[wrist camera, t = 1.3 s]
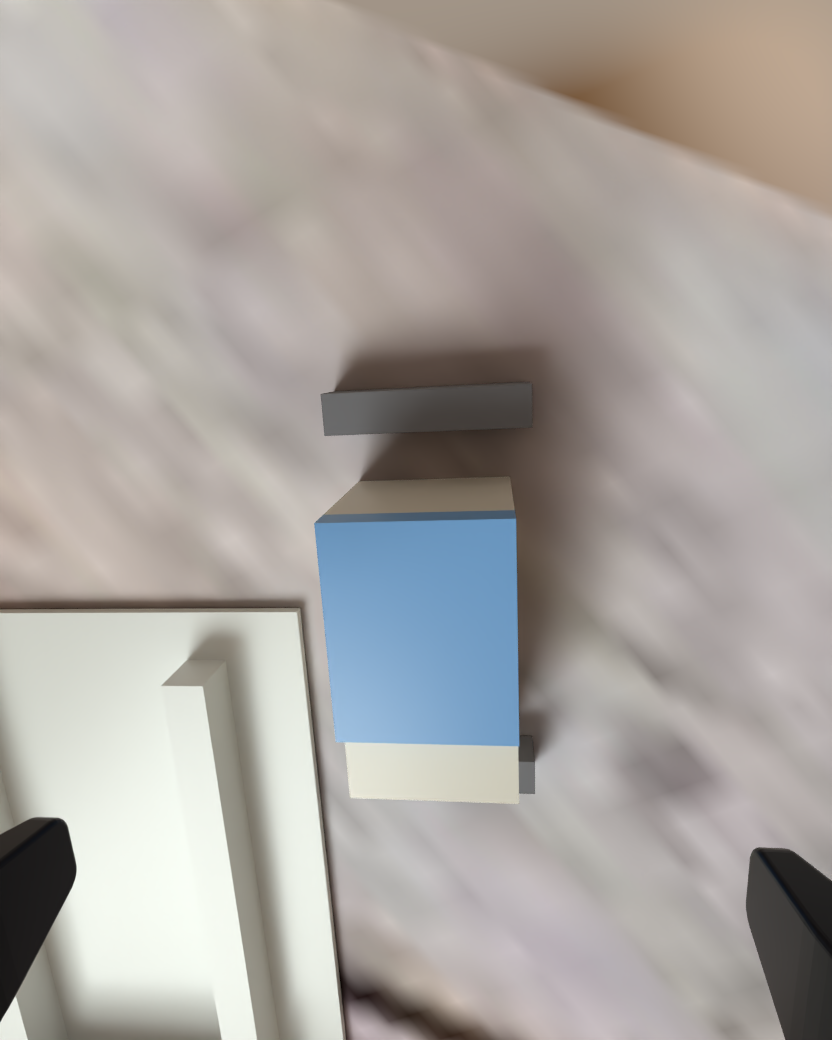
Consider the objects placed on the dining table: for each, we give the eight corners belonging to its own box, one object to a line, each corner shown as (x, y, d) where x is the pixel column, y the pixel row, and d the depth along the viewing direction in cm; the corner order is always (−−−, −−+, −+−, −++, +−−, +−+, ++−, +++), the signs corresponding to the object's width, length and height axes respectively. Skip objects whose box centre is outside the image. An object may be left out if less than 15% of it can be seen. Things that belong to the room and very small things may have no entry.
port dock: (299, 608, 18) (263, 656, 15) (352, 1097, 22) (331, 1207, 20) (-132, 610, 19) (-240, 654, 17) (0, 1063, 24) (-66, 1159, 21)
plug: (509, 475, 16) (516, 518, 12) (513, 712, 18) (520, 825, 14) (360, 480, 17) (314, 523, 12) (377, 711, 18) (342, 819, 14)
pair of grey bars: (528, 382, 15) (532, 383, 14) (532, 765, 18) (534, 794, 17) (332, 391, 16) (320, 394, 15) (364, 761, 19) (356, 787, 18)
